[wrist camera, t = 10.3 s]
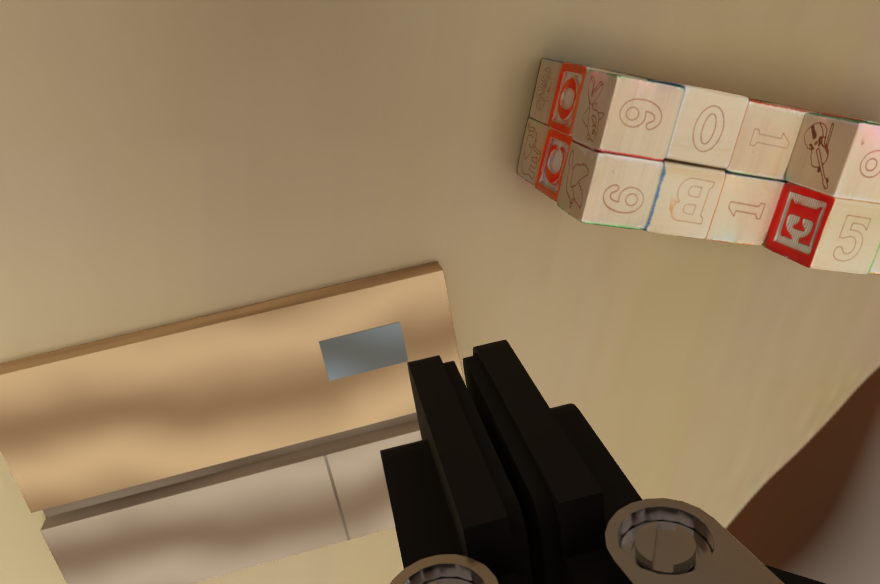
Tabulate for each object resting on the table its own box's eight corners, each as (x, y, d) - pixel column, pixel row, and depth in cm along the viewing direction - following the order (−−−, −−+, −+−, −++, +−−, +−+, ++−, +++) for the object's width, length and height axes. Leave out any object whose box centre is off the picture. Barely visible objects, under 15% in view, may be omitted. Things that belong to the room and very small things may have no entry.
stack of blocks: (512, 176, 38) (608, 244, 27) (539, 55, 36) (655, 74, 25) (837, 226, 43) (1031, 300, 32) (877, 124, 41) (1098, 164, 30)
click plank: (-20, 368, 36) (-34, 383, 34) (437, 261, 39) (443, 270, 37) (40, 494, 39) (31, 513, 37) (460, 386, 42) (466, 399, 40)
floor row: (44, 501, 39) (34, 520, 38) (461, 393, 42) (468, 407, 41) (89, 593, 42) (82, 615, 40) (478, 485, 45) (485, 501, 43)
